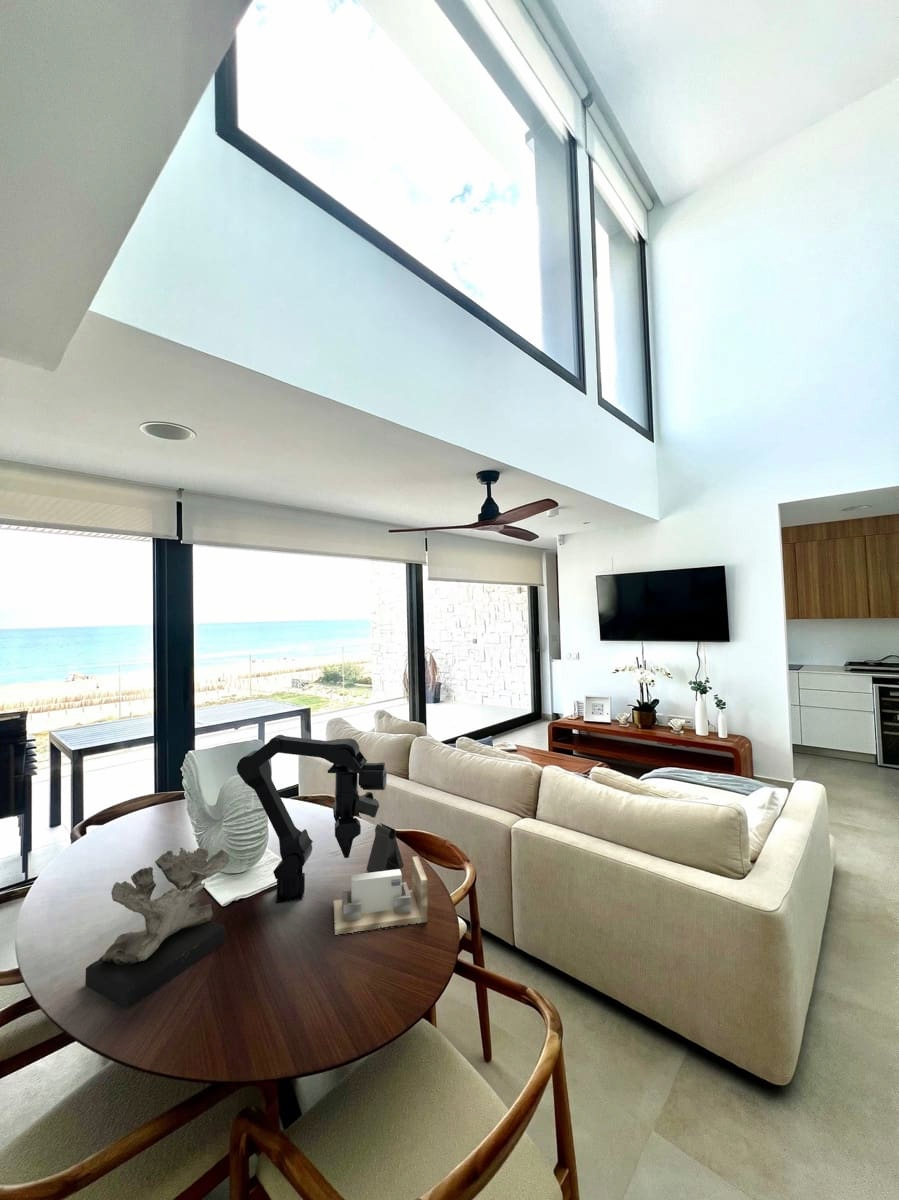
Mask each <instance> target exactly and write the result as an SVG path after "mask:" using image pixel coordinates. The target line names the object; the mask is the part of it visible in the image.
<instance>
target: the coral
mask: <svg viewBox="0 0 899 1200" xmlns="http://www.w3.org/2000/svg"><path fill="white" fill-rule="evenodd" d="M208 857H209V850H207V849H206V848H201V847H197V848H196V850H193V851H191V852H190V850H189V851H187V850H185V849H184V848H183V847H180V850H179V852H178V854H174V853H173V850H167V851H166V853H163V854H161V855H160V856H159V857H158V858H157V859H156V860H155V861H154V862H155V863H154V864H155V865H156V866H157V867H158V868H159V869H160V870H161V872H163V875H164V876H165V878H166V880H168V883H171V884H172V885H173V886H175V888H173V887H172V888H171V889H169V890H168V891H166V892H164V893H163V894H162V895H161V896H159V897H157V898H156V899H155V898H154V899H151V896H152V894H153V892H154V890H155V888H156V886H157V883H156V882H155V880H154V877H155V875H154V874H153V872H154V871H153V870H154V868H153V867H152V866H148V867H143V868H140V869H139V870H137V871H136V872H134V873H133V874H132V875H131V876H130V878H131V881H132V883H133V884H134V885H132V883H130V882H127V880H124V881H122V882H121V883H120V882H119V881H116V882H115V883H114V884H113V887H112V888H111V892H110V893H111V898H112V901H113V902H116V903H118V904H120V905H122V906H124V907H125V908H126V909H128V910H130V911H131V912H134V913H139V914H140V915H141V916H143V917H144V922H145V929H144V930H141V931H137V932H136V931H135V932H133V931H130V932H129V931H128V932H126V933H122V934H120V935H118V936H117V937H116V939H115V940H114V942H113V943H112V944H111V945H110V946H109V948H108V949H107V950H106V951H105V952H104V954H103V955H101V957H100V958H99V959H97V960H96V961H94V962H92V963H91V964H89V965H88V966H86V968H85V977H84V978H85V983H84V985H85V987H86V988H88V989H90V990H91V991H94V992H95V993H97V994H99V995H100V996H103V998H106V999H107V1000H109V1001H111V1002H113V1003H114V1004H115V1005H117V1006H119V1007H121V1008H122V1009H124V1010H129V1009H131V1008H132V1007H134V1006H135V1005H136V1004H138V1003H139V1002H141V1001H142V1000H144V999H145V998H146V997H148V996H149V995H151V994H153V993H154V992H155V991H157V990H158V989H160V988H161V987H162V986H163V985H165V984H167V983H168V982H170V981H171V980H172V979H174V978H175V977H177V976H178V975H180V974H181V973H182V972H184V971H185V970H187V969H188V968H190V967H191V966H192V965H194V964H195V963H197V962H199V961H200V960H201V959H203V958H204V957H206V955H208V954H211V952H213V951H214V950H216V949H217V948H218V947H220V946H221V945H223V944H224V943H225V940H226V938H225V937H226V936H225V935H226V927H225V926H224V925H222V924H220V923H217V922H215V921H212V920H211V919H212V917H213V916H214V913H213V910H212V904H211V903H208V904H206V905H203V906H202V905H199V904H197V903H195V902H194V903H191V902H192V899H193V897H194V894H197V892H199V891H201V890H202V889H203V888H204V887H205V886H206V883H205V882H204V883H202V882H203V881H205V880H207V879H209V878H211V877H213V876H214V875H216V874H217V873H219V872H220V871H221V870H223V869H224V868H226V867H227V866H228V865H229V863H230V854H229V853H228V852H227V851H225V850H223V849H220V850H219V851H218V852H217V853H215V854H212V855H211V857H210V858H209V859H208Z"/></svg>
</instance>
